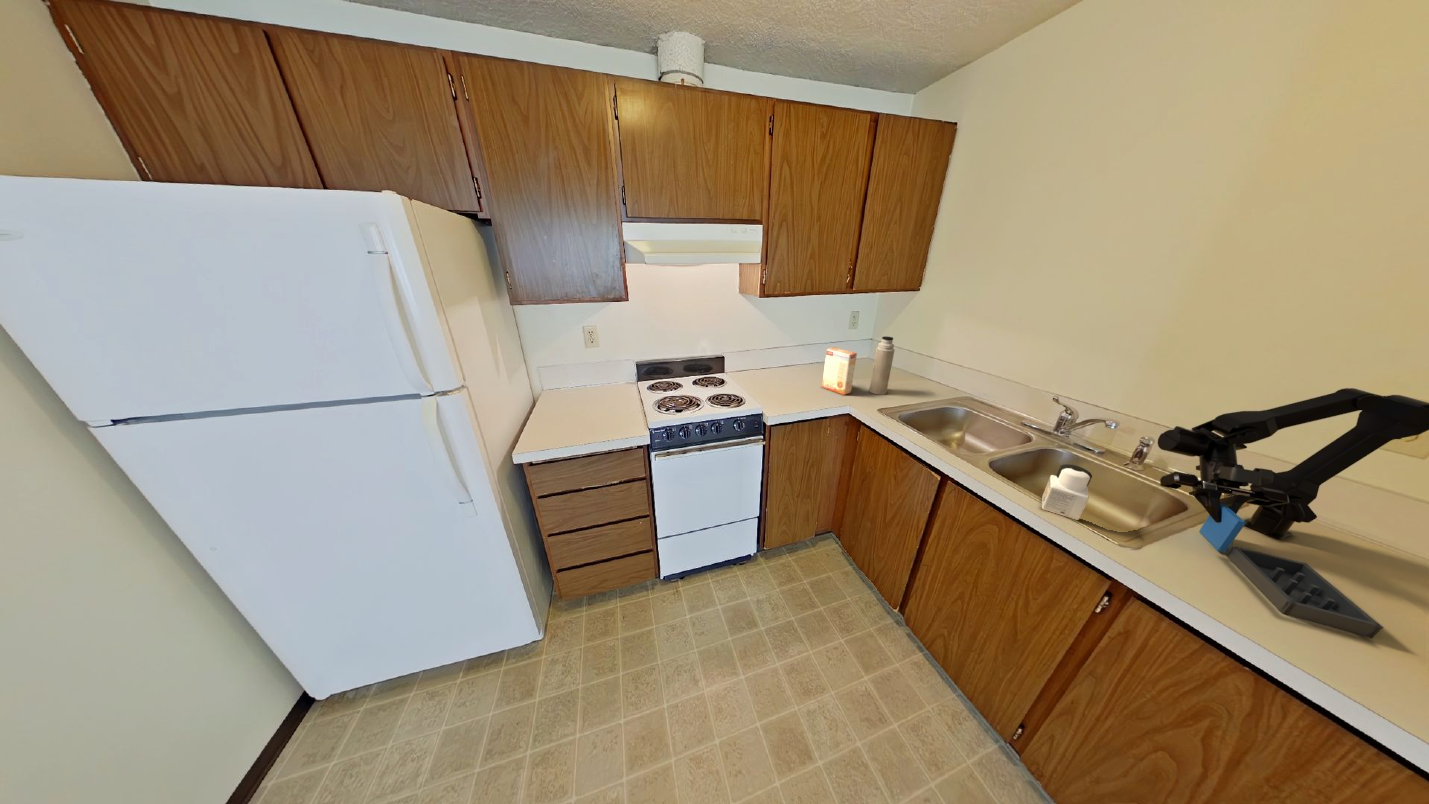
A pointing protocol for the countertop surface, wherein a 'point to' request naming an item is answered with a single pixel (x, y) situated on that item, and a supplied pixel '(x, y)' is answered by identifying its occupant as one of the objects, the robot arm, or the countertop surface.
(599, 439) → the countertop surface
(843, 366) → the cracker box
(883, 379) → the thermos bottle
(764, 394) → the countertop surface
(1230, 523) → the blue rectangular block
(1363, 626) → the dish rack
